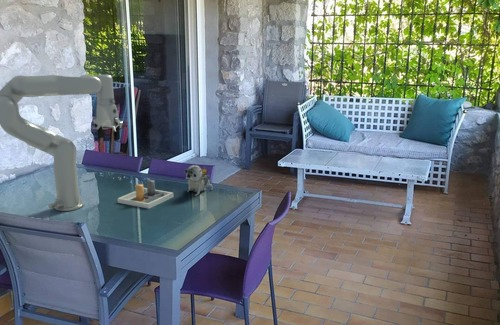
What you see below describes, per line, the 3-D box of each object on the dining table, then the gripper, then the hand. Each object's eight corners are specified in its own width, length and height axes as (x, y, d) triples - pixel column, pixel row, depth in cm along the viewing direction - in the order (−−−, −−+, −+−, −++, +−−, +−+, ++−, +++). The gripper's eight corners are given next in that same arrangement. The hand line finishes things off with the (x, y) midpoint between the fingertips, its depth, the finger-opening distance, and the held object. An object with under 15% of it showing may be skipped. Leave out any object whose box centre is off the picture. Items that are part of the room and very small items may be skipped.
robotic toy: (177, 196, 233) (175, 166, 229) (197, 187, 248) (196, 158, 244) (199, 200, 227) (198, 169, 223) (219, 190, 242) (218, 161, 238)
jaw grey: (152, 199, 227) (151, 182, 225) (144, 197, 229) (143, 181, 227) (158, 196, 231) (157, 180, 229) (150, 195, 233) (149, 179, 231)
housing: (148, 210, 215) (148, 204, 214) (118, 204, 223) (117, 198, 222) (173, 198, 230) (173, 192, 229) (143, 193, 238) (143, 187, 238)
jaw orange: (147, 201, 224) (146, 184, 222) (141, 204, 220) (139, 187, 218) (139, 199, 226) (138, 183, 224) (133, 202, 222) (131, 186, 220)
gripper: (125, 102, 222) (128, 138, 227) (98, 100, 230) (101, 135, 235) (114, 104, 216) (117, 142, 220) (85, 102, 224) (89, 138, 228)
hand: (109, 138), depth 227 cm, fingers open, 9 cm apart
